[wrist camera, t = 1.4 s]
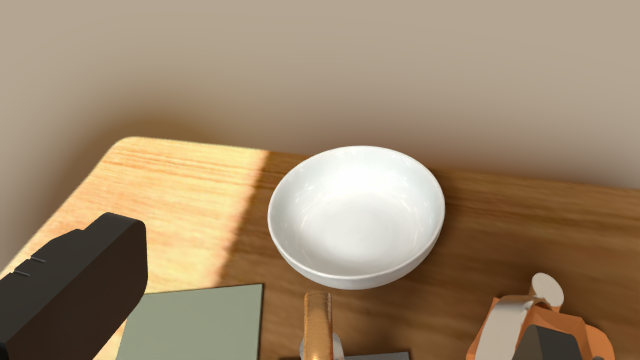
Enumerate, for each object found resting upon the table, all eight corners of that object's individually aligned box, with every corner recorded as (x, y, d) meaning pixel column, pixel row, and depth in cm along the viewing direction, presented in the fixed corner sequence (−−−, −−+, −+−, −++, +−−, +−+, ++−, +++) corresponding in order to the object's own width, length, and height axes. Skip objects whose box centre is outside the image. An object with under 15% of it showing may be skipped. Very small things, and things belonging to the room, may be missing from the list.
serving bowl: (476, 226, 62) (481, 188, 57) (369, 348, 53) (364, 315, 48) (351, 159, 74) (346, 123, 69) (245, 250, 64) (231, 215, 60)
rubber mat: (252, 427, 49) (251, 425, 48) (97, 437, 50) (94, 435, 50) (262, 286, 60) (261, 284, 60) (135, 298, 61) (133, 295, 61)
